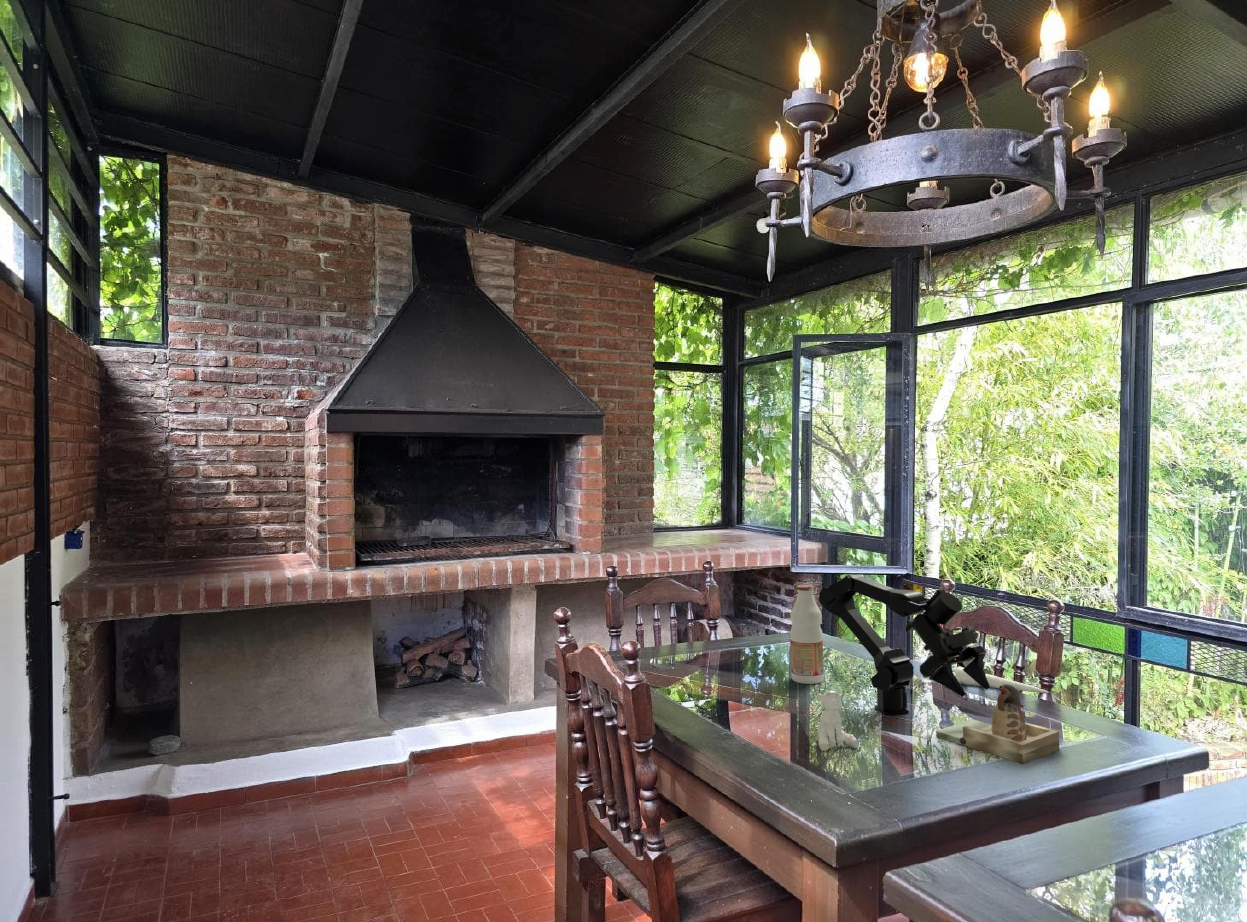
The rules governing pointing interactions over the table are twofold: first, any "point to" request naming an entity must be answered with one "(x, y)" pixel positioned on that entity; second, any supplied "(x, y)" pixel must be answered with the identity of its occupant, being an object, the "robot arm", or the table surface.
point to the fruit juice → (806, 638)
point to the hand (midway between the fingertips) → (976, 691)
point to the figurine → (1009, 715)
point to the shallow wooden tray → (1003, 740)
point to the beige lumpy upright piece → (833, 724)
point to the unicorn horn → (994, 681)
